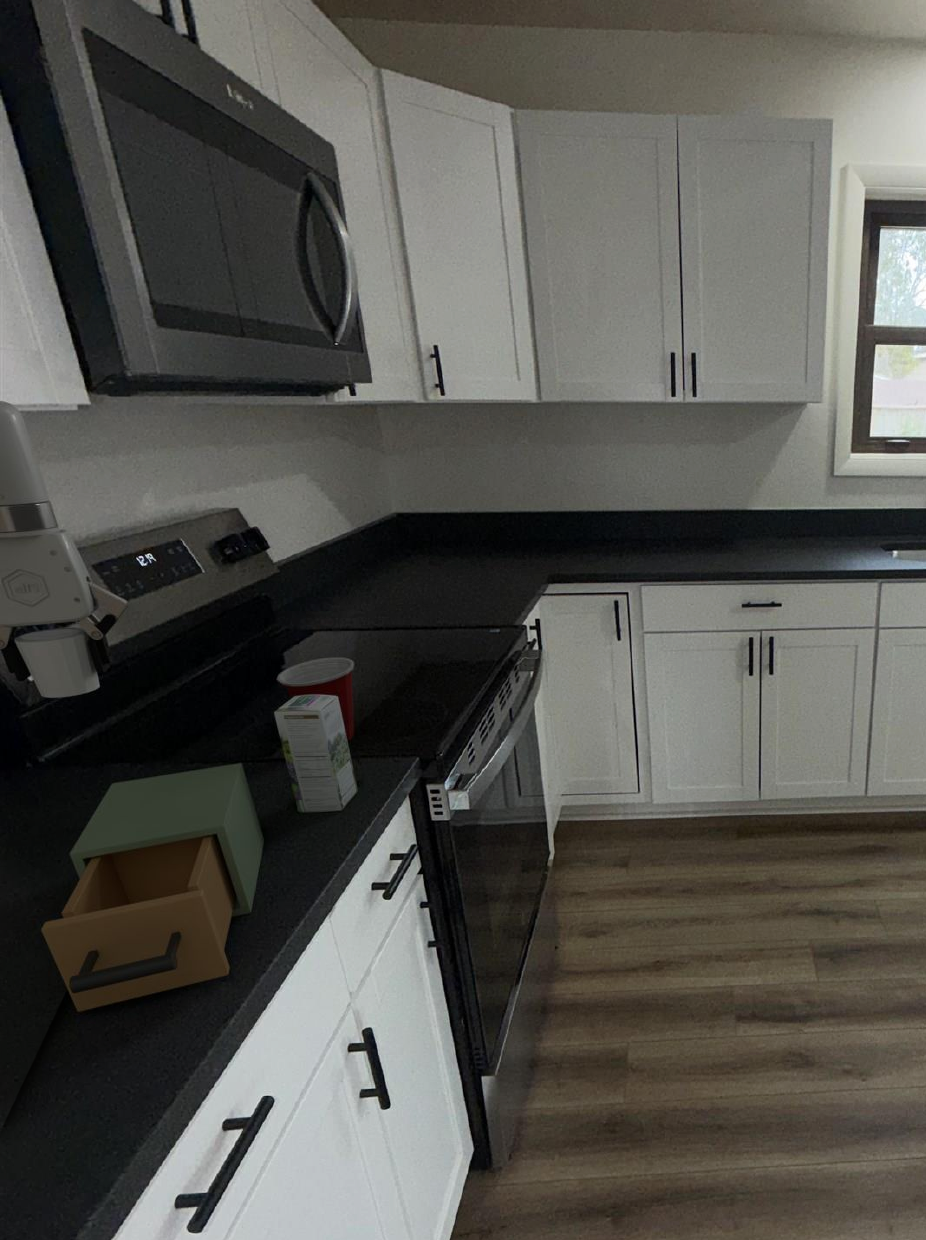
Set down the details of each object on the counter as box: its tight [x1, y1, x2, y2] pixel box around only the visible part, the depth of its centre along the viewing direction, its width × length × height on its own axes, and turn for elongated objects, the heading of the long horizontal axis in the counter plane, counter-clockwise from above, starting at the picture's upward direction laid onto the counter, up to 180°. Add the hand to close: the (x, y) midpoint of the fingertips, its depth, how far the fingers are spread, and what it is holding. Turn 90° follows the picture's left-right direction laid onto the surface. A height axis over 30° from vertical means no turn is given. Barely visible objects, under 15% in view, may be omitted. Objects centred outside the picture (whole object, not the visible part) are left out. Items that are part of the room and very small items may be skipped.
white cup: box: [14, 627, 101, 699], centre depth 95 cm, size 7×7×7 cm
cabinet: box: [69, 762, 265, 918], centre depth 87 cm, size 17×13×11 cm
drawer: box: [40, 834, 236, 1013], centre depth 74 cm, size 20×11×9 cm, turn 25°
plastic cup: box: [276, 656, 355, 741], centre depth 125 cm, size 11×11×12 cm
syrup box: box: [273, 695, 359, 814], centre depth 104 cm, size 6×6×14 cm
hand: (65, 672), depth 96 cm, fingers closed on white cup, 6 cm apart
